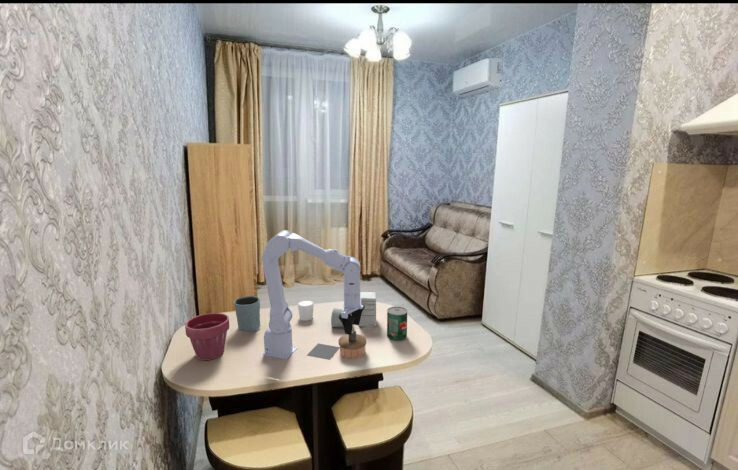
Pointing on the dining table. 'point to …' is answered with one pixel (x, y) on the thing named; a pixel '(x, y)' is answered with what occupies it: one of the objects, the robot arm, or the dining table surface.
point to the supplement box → (368, 309)
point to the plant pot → (208, 334)
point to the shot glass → (305, 310)
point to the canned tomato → (397, 324)
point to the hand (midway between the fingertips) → (352, 329)
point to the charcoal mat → (323, 351)
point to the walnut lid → (352, 341)
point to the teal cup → (248, 313)
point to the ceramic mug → (336, 318)
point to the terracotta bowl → (352, 352)
